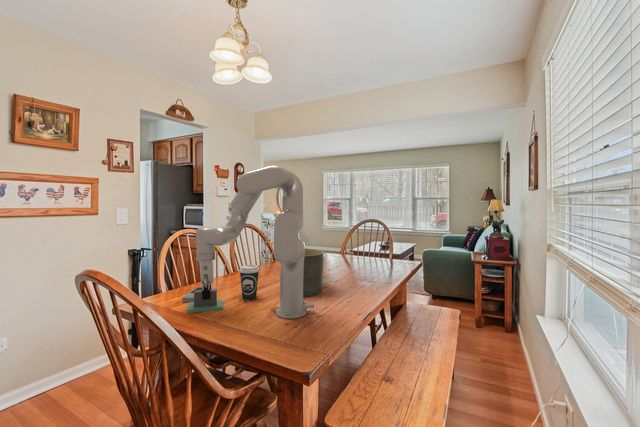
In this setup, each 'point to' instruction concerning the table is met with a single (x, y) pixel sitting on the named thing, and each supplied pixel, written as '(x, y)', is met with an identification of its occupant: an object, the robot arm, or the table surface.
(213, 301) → the block
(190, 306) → the board
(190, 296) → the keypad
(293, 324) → the table surface
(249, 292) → the coffee cup
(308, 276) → the planter
